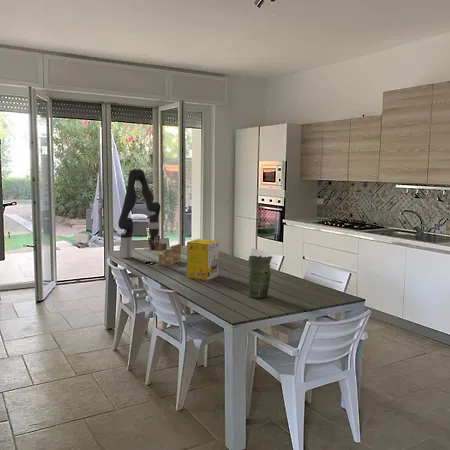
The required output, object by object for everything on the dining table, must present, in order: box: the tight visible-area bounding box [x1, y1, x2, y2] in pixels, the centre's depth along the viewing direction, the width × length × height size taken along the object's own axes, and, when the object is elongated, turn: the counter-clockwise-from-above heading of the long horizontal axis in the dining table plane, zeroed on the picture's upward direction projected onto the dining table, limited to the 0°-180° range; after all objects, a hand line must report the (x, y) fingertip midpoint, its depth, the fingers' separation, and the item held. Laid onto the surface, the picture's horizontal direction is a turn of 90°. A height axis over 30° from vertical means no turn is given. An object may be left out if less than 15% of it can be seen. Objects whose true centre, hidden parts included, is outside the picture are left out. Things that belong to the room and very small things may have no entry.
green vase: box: [248, 255, 273, 299], centre depth 275 cm, size 11×12×25 cm
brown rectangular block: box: [149, 242, 168, 252], centre depth 361 cm, size 13×4×6 cm, turn 66°
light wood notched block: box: [157, 243, 182, 267], centre depth 364 cm, size 8×21×14 cm, turn 156°
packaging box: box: [186, 238, 220, 281], centre depth 321 cm, size 16×16×25 cm
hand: (154, 249), depth 363 cm, fingers closed on brown rectangular block, 4 cm apart
